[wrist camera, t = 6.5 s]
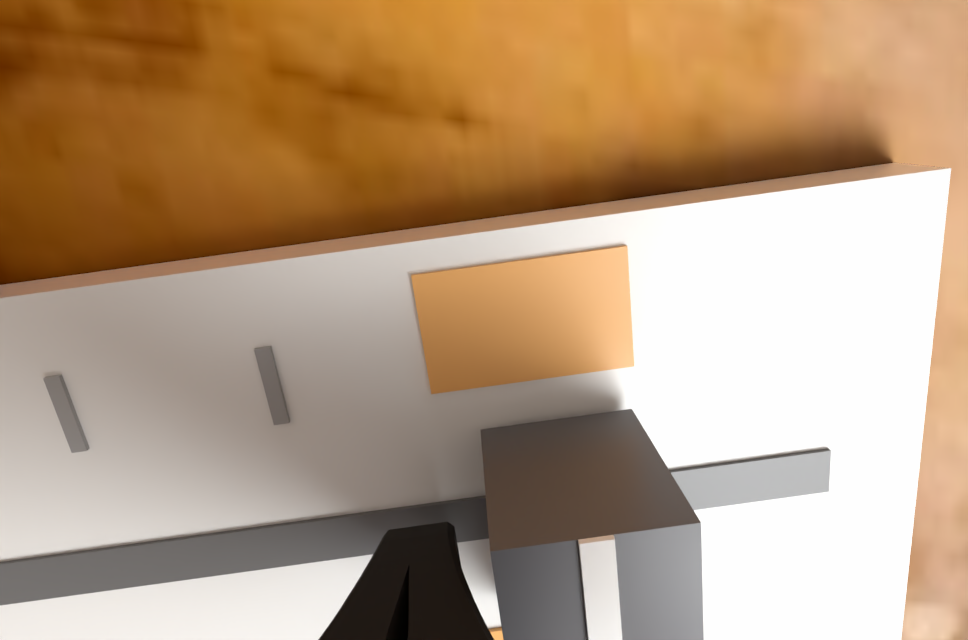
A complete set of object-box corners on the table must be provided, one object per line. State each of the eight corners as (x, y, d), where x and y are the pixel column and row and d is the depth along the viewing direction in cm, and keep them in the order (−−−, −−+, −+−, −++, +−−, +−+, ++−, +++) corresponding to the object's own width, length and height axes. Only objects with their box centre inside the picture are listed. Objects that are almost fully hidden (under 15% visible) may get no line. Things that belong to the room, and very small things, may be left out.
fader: (642, 589, 13) (708, 754, 10) (506, 607, 13) (524, 780, 10) (631, 408, 12) (703, 527, 9) (480, 429, 12) (490, 556, 9)
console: (859, 623, 16) (900, 675, 15) (-113, 757, 16) (-170, 822, 15) (894, 162, 13) (955, 168, 11) (-364, 334, 13) (-476, 364, 11)
